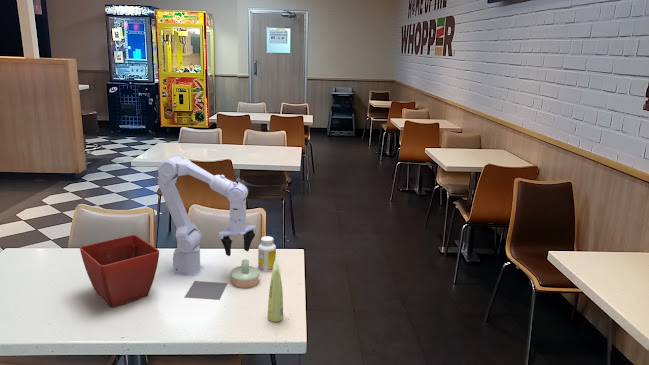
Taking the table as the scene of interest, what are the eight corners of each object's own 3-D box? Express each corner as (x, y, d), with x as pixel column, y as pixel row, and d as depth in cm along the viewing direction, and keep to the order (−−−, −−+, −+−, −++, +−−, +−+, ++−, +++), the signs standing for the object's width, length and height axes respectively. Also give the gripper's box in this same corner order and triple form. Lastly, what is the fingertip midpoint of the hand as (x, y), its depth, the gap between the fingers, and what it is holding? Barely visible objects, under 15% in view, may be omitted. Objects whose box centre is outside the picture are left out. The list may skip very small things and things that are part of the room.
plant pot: (137, 276, 179) (135, 233, 174) (162, 296, 166) (160, 250, 161) (82, 292, 166) (78, 246, 161) (105, 316, 153) (101, 266, 148)
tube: (262, 317, 157) (263, 261, 151) (274, 311, 160) (275, 256, 155) (275, 324, 153) (276, 267, 148) (286, 318, 157) (288, 262, 152)
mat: (184, 298, 165) (184, 297, 165) (194, 282, 177) (194, 280, 177) (219, 301, 165) (219, 299, 165) (227, 284, 177) (227, 282, 176)
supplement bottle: (277, 266, 193) (277, 235, 189) (273, 273, 186) (274, 242, 183) (260, 264, 193) (260, 234, 190) (256, 272, 187) (256, 241, 183)
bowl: (230, 287, 174) (230, 278, 173) (235, 276, 183) (235, 267, 182) (255, 289, 174) (255, 280, 173) (259, 277, 182) (259, 269, 182)
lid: (227, 279, 173) (227, 266, 171) (235, 266, 183) (235, 253, 181) (256, 282, 172) (256, 268, 170) (262, 269, 182) (262, 256, 180)
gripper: (225, 225, 168) (225, 261, 172) (260, 217, 178) (260, 252, 181) (215, 218, 174) (215, 254, 177) (250, 212, 183) (250, 245, 186)
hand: (237, 252), depth 180 cm, fingers open, 7 cm apart
